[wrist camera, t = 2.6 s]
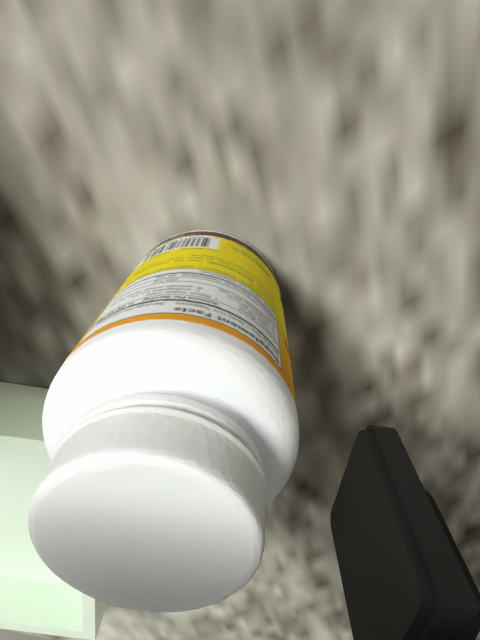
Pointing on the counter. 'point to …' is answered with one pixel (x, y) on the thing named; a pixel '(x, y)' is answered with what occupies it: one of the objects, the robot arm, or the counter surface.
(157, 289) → the supplement bottle
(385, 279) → the counter surface
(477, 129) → the counter surface
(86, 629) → the tray
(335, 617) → the counter surface
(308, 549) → the counter surface
